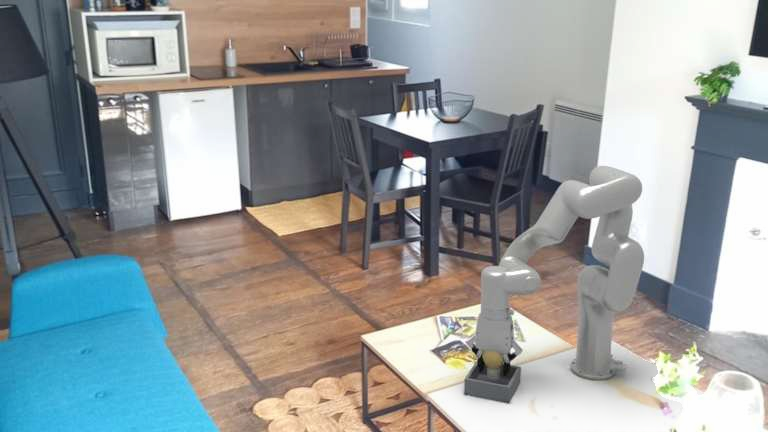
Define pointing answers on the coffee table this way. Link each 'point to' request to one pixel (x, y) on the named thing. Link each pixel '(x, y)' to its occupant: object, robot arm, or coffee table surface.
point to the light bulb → (493, 363)
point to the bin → (492, 384)
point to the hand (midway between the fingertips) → (493, 371)
